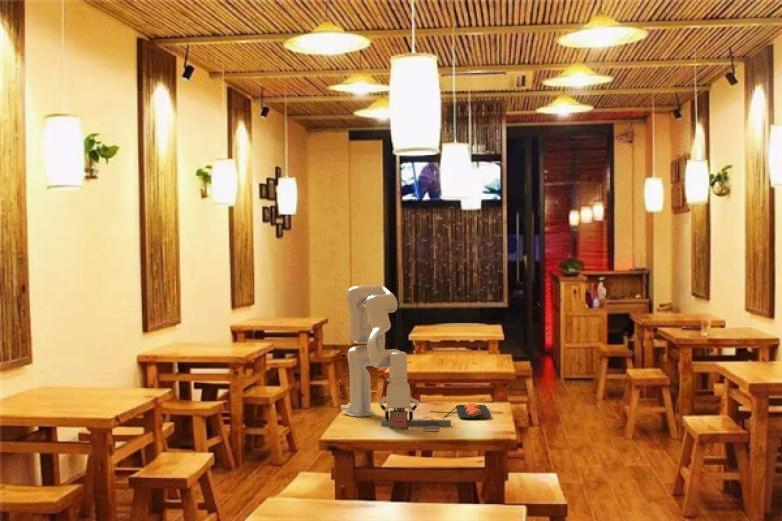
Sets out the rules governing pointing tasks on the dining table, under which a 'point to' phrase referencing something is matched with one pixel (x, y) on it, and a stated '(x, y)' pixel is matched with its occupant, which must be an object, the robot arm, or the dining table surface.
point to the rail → (420, 422)
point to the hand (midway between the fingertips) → (399, 420)
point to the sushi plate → (470, 411)
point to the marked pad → (431, 428)
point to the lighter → (398, 419)
